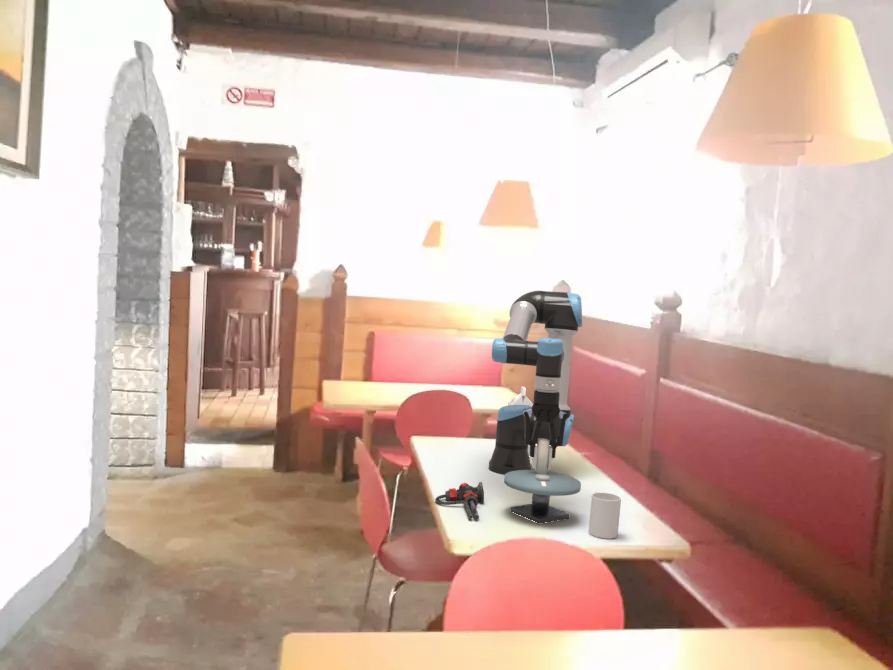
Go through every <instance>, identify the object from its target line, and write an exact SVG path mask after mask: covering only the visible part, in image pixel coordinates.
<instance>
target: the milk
mask: <svg viewBox="0 0 893 670" xmlns="http://www.w3.org/2000/svg"><path fill="white" fill-rule="evenodd" d="M526 393H527V388H526V386H520V393H519V394H514V396H513V397H511V400H510V401H509V402H508V403H507V406H509V405H529V406H531V408H532V406H533V402H532V401H531V400H530V398H529V397H528V396H527V395H526ZM528 454H529V456H530V445H528Z"/></svg>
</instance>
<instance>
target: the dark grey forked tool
mask: <svg viewBox="0 0 893 670" xmlns="http://www.w3.org/2000/svg"><path fill="white" fill-rule="evenodd" d="M441 499H445V500H446V501H443V500H441ZM434 500H435V503H436V504H438V505H441V506H449V505H462V504H463V505H464V507H465V509H466V513H467V515H468V518H469V520H471V519H473V517H474V520H479V518H480V516H479V513H478V510H477V508H476V506H479V505H478V503H479V502H480V503H481V502H482V503H481V504H484V503H485V491H484V485H483V481H479V482H478V484H477V486H472V485H470V484H469V483H466V482H462V483H461V484H460V485H459V487H458V488H457V489H456V488H455V487H453V488H448V490H445V493H444V494H441V495H438V496H437V497H435V499H434ZM470 507H471V509H470Z"/></svg>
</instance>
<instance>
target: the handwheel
mask: <svg viewBox="0 0 893 670" xmlns="http://www.w3.org/2000/svg"><path fill="white" fill-rule="evenodd" d="M549 443H550V440H548V439H538V440H537V444H536V446H537V447H538V450H537V464H536V469H531V470H517V471H511V472H508V473H506V474H503V475H504V476H503V483H504V484H505V485H506V486H507V487H509V488H510V489H513V490H515V491H519V492H523V493H526V494H537V495H547V496H550V497H551V496H552V497H564V496H572V495H576V494H578V493H580V492H581V489H582V488H581V487H582V483H581V481H580V480H579V479H578V478H576V477H573V476H570V475H567V474H563V473H559V472H554V471H550V470H548V469H547V467H548V455H549V446H550V445H549Z"/></svg>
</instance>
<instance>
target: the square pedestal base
mask: <svg viewBox="0 0 893 670" xmlns="http://www.w3.org/2000/svg"><path fill="white" fill-rule="evenodd" d="M531 496H532V497H531V503H527V504H521V505H516V506H510V510H509V512H510V511H511V512H514V513H516V514H518V515H521V516H523V517H526V518H528V519H530V520H533V521H535V522H537V523H543V524H546V523H545V522H549V523H552V522H551V521H554V522H558V521H557V520H560V521H563V520H564V519H566V520H570V513H568V512H565V511H563V510H561V509H558V508H555V507H553V506H552V505H550V500H551V499H550V497H551V496H547V495H537V494H532V495H531ZM511 512H510V513H511ZM516 514H515V515H516ZM518 515H517V516H518ZM523 517H522V518H523ZM530 520H529V521H530ZM564 521H565V520H564ZM537 523H536V524H537Z"/></svg>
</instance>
